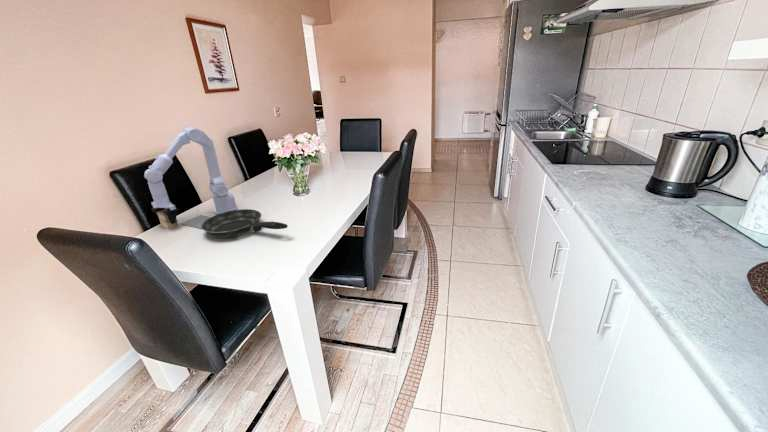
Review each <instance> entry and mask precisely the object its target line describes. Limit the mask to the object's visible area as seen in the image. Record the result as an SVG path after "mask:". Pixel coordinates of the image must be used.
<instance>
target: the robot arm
mask: <svg viewBox="0 0 768 432" xmlns="http://www.w3.org/2000/svg"><path fill="white" fill-rule="evenodd" d="M191 141H192V142H194V143H196V144H198V145H199V146H201V147H202V150H203V151H202V152H203V155H204V159H205V164H206V167H207V171H208V174H209V175H208V176H209V186H208V187H209V190H210V192H211V193H212V196H211V197H212V199H213V204H214V208H215V210H214V211H212V213H214V214H216V215H218V214H220V213H224V212H228V211H233V210H239V209H238V207H237V204H236V199H235V197H234V195H233V193H231V192H229V187H227V186H226V183H225V181H224V178H223V177H222V175H221V168H220V165H219V162H218V158H217V153H216V148H215V146H214V145H215V144H214V141H213V140H212V139H211V138H210V137H209V135H208V134H206V133H205V132H204V131H203V130H202V129H200V128H198V127H194V126H191V125H190V126H189V125H188V126H185V127H184V128H182V131H179V133H178V134H177V136H176V137H175V139H174V140H173V141H172V142H171V144H170V146H169V147H168V148H167V150H166V151H165V153H163V154H159V155H158V156H157V155H156V156H155V157H154V159H155V160H153V161H154V162H153V163H152V164H150V165H149V166H148V169H146V170H144V175H143V177H144V179H146V180H147V185H148V188H149V191H150V193H151V197H152V199H153V201H151V203H150V204H151V206H152V208H151V209H150V210H151V211H152V212H153V213H154V214H155V215H156V216H157V217H158V214H157V212H159V211H162V210H165V209H167V210H165V211H163V212H164V213H165V214H166V215H167V217H168V219H169V221H170V223H171V224H174V223H176V219H177V213H178V211H179V208H178V207H176V204H173V203H172V202H171V201H170V197H169V195H168V192H167V189H166V185H165V184H164V182H163V177H164V176H163V175H165V174H166V172H167V171H168V169H169V168H170V167H171V165H172V164H173V163H174V161H173V158H174V157H175V156H176V155H177V153H178V152H179V150H180V149H182V147H183V146H186V145H189V144H191Z"/></svg>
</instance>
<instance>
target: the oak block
mask: <svg viewBox="0 0 768 432" xmlns="http://www.w3.org/2000/svg"><path fill="white" fill-rule="evenodd" d="M165 210H167V208H165ZM165 210H162V211H159V212H157V214H158V216H157V217H158V219H159V222H160V226H161V228H162V229H166V230H171V229H172V228H175V227H178V226H179V222H178V218H176V223H174V224H171V223H170V221H169V219H168V217H167V215H166V214H165V213H164V212H163V211H165Z"/></svg>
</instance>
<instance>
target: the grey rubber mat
mask: <svg viewBox="0 0 768 432" xmlns="http://www.w3.org/2000/svg"><path fill="white" fill-rule="evenodd" d="M211 217H212V216H207V215H203V214H200V215H198V216H197V215H196V216H195V217H192V218H191V219H187V220H185V221H182V222H181V223H179V224H180V225H183V226H187V227H192V228H195V229H198V230H202V228H201V225H202V223H203V222H204V221H206V220H207V219H209V218H211Z"/></svg>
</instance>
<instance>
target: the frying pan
mask: <svg viewBox="0 0 768 432" xmlns="http://www.w3.org/2000/svg"><path fill="white" fill-rule="evenodd" d="M210 217H211V218H209V219H207V220H206V221H204V222H203V223H202V225H201V228H202V229H201V230H202V231H203V232H206V234H208V235H209V236H212V237H214V238H215V237H216V238H219V239H220V238H221V239H224V238H226V239H227V238H234V237H238V236H241V235H244V234H246V233H249V232H254V233H257V232H259V231H261V230H262V228H263V229H270V230H283V229H288V227H289V226H288V224H286V223H283V222H279V221H278V222H277V221H260V219H261V218H262V213H261V212H260V211H258V210H256V209H248V208H247V209H246V208H245V209H244V208H243V209H241V208H240V209H235V210H233V211H228V212H224V213H220V214H216V215H212V216H210Z"/></svg>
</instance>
